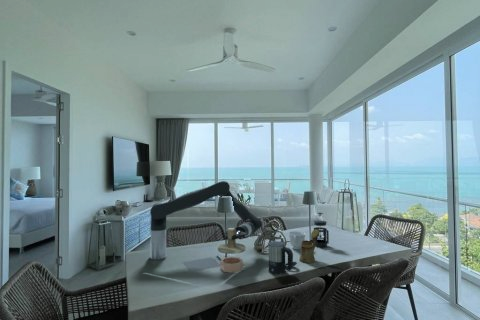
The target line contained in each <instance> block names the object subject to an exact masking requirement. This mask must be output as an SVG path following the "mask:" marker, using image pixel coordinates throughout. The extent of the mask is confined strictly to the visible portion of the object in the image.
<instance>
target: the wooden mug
mask: <svg viewBox="0 0 480 320" xmlns="http://www.w3.org/2000/svg"><path fill="white" fill-rule="evenodd" d="M319 230H320V229H315V230H314V229H313V230H312V232H311V234H310V239H308V240H307V239H306V240H303V241H302V243H301V249H300V256H299V261H300V262H301V263H305V264H312V263H315V262H316V258H315V253H314V251H315V248H316V247H315V245H316V242H315V239H316V238H317V237H318V236H319V235H320V231H319Z"/></svg>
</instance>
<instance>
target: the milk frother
mask: <svg viewBox="0 0 480 320" xmlns="http://www.w3.org/2000/svg"><path fill="white" fill-rule="evenodd" d="M267 245H268V246H267V248H268V270H267V272H268V273H270V274H271V275H283V274H285V273H286V271H287V270H288V271H292V270H293V267H295V266H296V265H297V264H298V263H297V262H296V261H294V253H293V251H292V249H291V248H289V247H287V246H285V245H286V243H285V242H284V241H278V240H276V241H275V240H274V241H268V243H267ZM286 255H287V262H286Z"/></svg>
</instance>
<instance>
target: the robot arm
mask: <svg viewBox="0 0 480 320" xmlns="http://www.w3.org/2000/svg"><path fill="white" fill-rule="evenodd" d="M230 187H231V186H230V183H228V182H227V181H226V180H220V181H217V182H216V183H214V184H211V185H208V186H206V187H203V188H199V189H195V190H193V191H190V192H187V193H184V194H182V195H180V196H178V197H176V198H174V199H173V200H170V201H167V202H163V203H162V202H157V203H155V204H153V205H152V206H151V207H150V208H151V209H150V241H149V258H150V260H152V261H153V260H155V261H156V260H158V261H159V260H162V259H165V258H167V216H169V215H172V214H173V213H176V212H180V211H184V210H187V209H190V208H193V207H195V206H198V205H200V204H202V203H204V202H206V201H208V200H209V199H211V198H215V197H220V198H221V197H222V196H231V197H232V201H233V206H234V210H233V211H234V212H235V213H236V214H237V216H238V218H240V219H241V220H242V221H244V222H245V221H247V220H250V221H249V222H245V223H242V224H240V225H238V226H235V228H236V235H233V236H232V240H235V239H236V240H243V239H248V238H249V235H252V234H255V233H256V232H257V231H258V230H260V229H261V228H262V227H263V222H262V220H261V219H260V218H259V217H258V216H256V215H254V214H253V213H251V211H249V209H248V208H247V207H246V206H245V205H244V204H243V203H242V202H241V201H240V200H238V198H236V197H235V196H234V195H233V194H232V192H231V191H230V190H231V189H230ZM224 239H225V240H226V241H228V230H226V232H225V235H224Z"/></svg>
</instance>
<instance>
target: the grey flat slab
mask: <svg viewBox="0 0 480 320" xmlns="http://www.w3.org/2000/svg"><path fill="white" fill-rule="evenodd" d="M182 264H183V265H184V266H185V267H186V268H187V269H188V271H189V272H190V273H191V272H198V271H201V270H202V271H203V270H207V269H213V268H219V267H221V263H220V262H218V261H217V260H215V258H213V257H211V256H210V257H206V258H199V259H195V260H188V261H182Z"/></svg>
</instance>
